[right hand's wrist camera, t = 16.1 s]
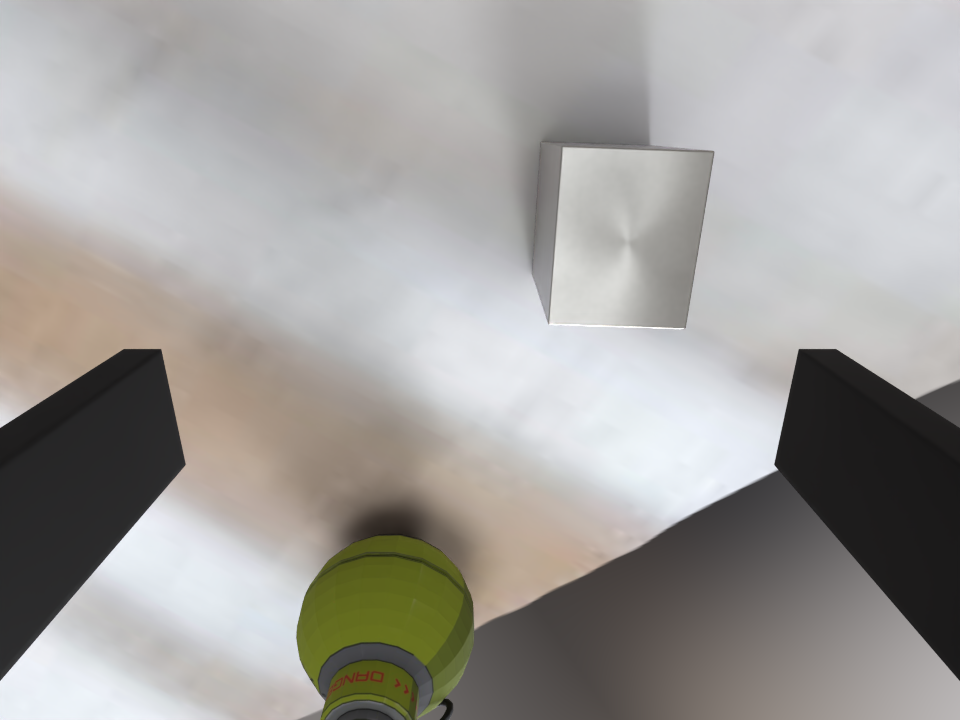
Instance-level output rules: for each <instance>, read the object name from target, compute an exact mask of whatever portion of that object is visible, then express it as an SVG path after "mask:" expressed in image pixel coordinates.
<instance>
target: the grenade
mask: <svg viewBox="0 0 960 720" xmlns="http://www.w3.org/2000/svg"><path fill="white" fill-rule="evenodd" d="M296 638H297V645H298V651H299V657H300V661H301V663H302V665H303V668H304V669H305V671H306V673H307V675H308V676H309V678H310V680H311V681H312V683H313V684H314V686H315V687H316V689H317V691H318V692H319V694H320V695H321V696H322V697H323V698H324V700H325V705H324V708H323V712H322V716H321V719H320V720H417V719H418V718H419V717H421V716H423V715H425V714H426V713H428V712H430V711H431V710H433V709H434V708H436V707H438V706H446V707H447V709H446V712H445V714H444V715H443V717H442V718H441V719H440V720H449V719H450V717H451V715H452V713H453V703H452V702H451V701H450V700H449V699H444V698H445V697H446V696H447V695H448V694H449V693H450V692H451V691H452V690H453V688H454V687H455V686H456V685H457V684H458V682H459V680H460V678H461V677H462V675H463V672H464V670H465V667H466V664H467V662H468V659H469V656H470V654H471V651H472V647H473V643H474V614H473V601H472V598H471V595H470V592H469V590H468V588H467V586H466V583H465V581H464V579H463V577H462V575H461V573H460V571H459V570H458V568H457V567H456V566H455V565H454V564H453V563H452V562H451V561H450V560H449V559H448V558H447V557H446V556H445V554H444V553H443V552H441V551H440V550H439V549H437V548H436V547H434V546H432V545H430V544H428V543H427V542H425V541H423V540H421V539H417V538H413V537H409V536H405V535H401V534H393V535H377V536H373V537H370V538H367V539H363V540H360V541H357V542H354V543H353V544H351V545H350V546H348V547H347V548H345V549H344V550H342V551H341V552H339V553H338V554H336V555H335V556H334V557H332V558H331V559H330V560H329V561H328V562H327V563H326V564H325V566H324V567H323V568H322V569H321V571H320V572H319V574H318V575H317V576H316V578H315V579H314V580H313V582H312V583H311V585H310V586H309V588H308V590H307V592H306V595H305V597H304V601H303V604H302V608H301V612H300V617H299V621H298V625H297V637H296Z"/></svg>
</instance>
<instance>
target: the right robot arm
mask: <svg viewBox="0 0 960 720" xmlns="http://www.w3.org/2000/svg"><path fill="white" fill-rule="evenodd" d="M185 465H186V464H185V459H184V455H183V450H182V445H181V440H180V436H179V431H178V426H177V422H176V417H175V412H174V407H173V403H172V398H171V393H170V389H169V384H168V379H167V374H166V370H165V365H164V360H163V356H162V351H161V349H123V350H122V351H120V352H119V353H117V354H116V355H114V356H112V357H111V358H109V359H108V360H106V361H105V362H103V363H101V364H100V365H98V366H97V367H95V368H94V369H92V370H90V371H89V372H87V373H86V374H84V375H83V376H81V377H80V378H78V379H76V380H75V381H73V382H72V383H70V384H69V385H67V386H65V387H64V388H62V389H61V390H59V391H58V392H56V393H54V394H53V395H51V396H50V397H48V398H47V399H45V400H43V401H42V402H40V403H39V404H37V405H36V406H34V407H32V408H31V409H29V410H28V411H26V412H25V413H23V414H21V415H20V416H18V417H17V418H15V419H14V420H12V421H11V422H9V423H7V424H6V425H4V426H3V427H1V428H0V680H1V679H2V678H3V677H4V676H5V675H6V673H7V672H8V671H9V670H10V669H11V668H12V666H13V665H14V664H15V663H16V662H17V661H18V660H19V658H20V657H21V656H22V655H23V654H24V653H25V651H26V650H27V649H28V648H29V647H30V646H31V644H32V643H33V642H34V641H35V640H36V639H37V637H38V636H39V635H40V634H41V633H42V632H43V630H44V629H45V628H46V627H47V626H48V625H49V623H50V622H51V621H52V620H53V619H54V618H55V616H56V615H57V614H58V613H59V612H60V611H61V609H62V608H63V607H64V606H65V605H66V604H67V602H68V601H69V600H70V599H71V598H72V597H73V595H74V594H75V593H76V592H77V591H78V590H79V588H80V587H81V586H82V585H83V584H84V583H85V581H86V580H87V579H88V578H89V577H90V576H91V575H92V573H93V572H94V571H95V570H96V569H97V568H98V566H99V565H100V564H101V563H102V562H103V561H104V559H105V558H106V557H107V556H108V555H109V554H110V552H111V551H112V550H113V549H114V548H115V547H116V545H117V544H118V543H119V542H120V541H121V540H122V538H123V537H124V536H125V535H126V534H127V533H128V531H129V530H130V529H131V528H132V527H133V526H134V524H135V523H136V522H137V521H138V520H139V519H140V517H141V516H142V515H143V514H144V513H145V512H146V510H147V509H148V508H149V507H150V506H151V505H152V503H153V502H154V501H155V500H156V499H157V498H158V496H159V495H160V494H161V493H162V492H163V491H164V490H165V488H166V487H167V486H168V485H169V484H170V483H171V481H172V480H173V479H174V478H175V477H176V476H177V474H178V473H179V472H180V471H181V470H182V469H183V467H184V466H185ZM774 465H775V466H776V467H777V469H778V470H779V471H780V472H781V473H782V474H783V476H784V477H785V478H786V479H787V480H788V481H789V482H790V484H791V485H792V486H793V487H794V488H795V489H796V491H797V492H798V493H799V494H800V495H801V496H802V498H803V499H804V500H805V501H806V502H807V503H808V505H809V506H810V507H811V508H812V509H813V510H814V512H815V513H816V514H817V515H818V516H819V517H820V519H821V520H822V521H823V522H824V523H825V524H826V526H827V527H828V528H829V529H830V530H831V531H832V533H833V534H834V535H835V536H836V537H837V538H838V540H839V541H840V542H841V543H842V544H843V545H844V547H845V548H846V549H847V550H848V551H849V552H850V554H851V555H852V556H853V557H854V558H855V559H856V561H857V562H858V563H859V564H860V565H861V566H862V568H863V569H864V570H865V571H866V572H867V573H868V575H869V576H870V577H871V578H872V579H873V580H874V581H875V583H876V584H877V585H878V586H879V587H880V588H881V590H882V591H883V592H884V593H885V594H886V595H887V597H888V598H889V599H890V600H891V601H892V602H893V604H894V605H895V606H896V607H897V608H898V609H899V611H900V612H901V613H902V614H903V615H904V616H905V618H906V619H907V620H908V621H909V622H910V623H911V625H912V626H913V627H914V628H915V629H916V630H917V631H918V633H919V634H920V635H921V636H922V637H923V638H924V640H925V641H926V642H927V643H928V644H929V645H930V647H931V648H932V649H933V650H934V651H935V653H936V654H937V655H938V656H939V657H940V658H941V660H942V661H943V662H944V663H945V664H946V665H947V666H948V668H949V669H950V670H951V671H952V672H953V673H954V675H955V676H956V677H957V678H958V679H959V680H960V428H959V427H957V426H956V425H954V424H953V423H951V422H949V421H948V420H946V419H945V418H943V417H942V416H940V415H939V414H937V413H935V412H934V411H932V410H931V409H929V408H927V407H926V406H924V405H923V404H921V403H920V402H918V401H917V400H915V399H913V398H912V397H910V396H909V395H907V394H906V393H904V392H902V391H901V390H899V389H898V388H896V387H895V386H893V385H891V384H890V383H888V382H887V381H885V380H884V379H882V378H880V377H879V376H877V375H876V374H874V373H873V372H871V371H870V370H868V369H866V368H865V367H863V366H862V365H860V364H859V363H857V362H855V361H854V360H852V359H851V358H849V357H848V356H846V355H844V354H843V353H841V352H840V351H838V350H837V349H799V351H798V356H797V360H796V365H795V370H794V374H793V379H792V384H791V389H790V393H789V398H788V403H787V407H786V412H785V417H784V422H783V426H782V431H781V436H780V440H779V445H778V450H777V455H776V459H775V464H774Z"/></svg>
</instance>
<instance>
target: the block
mask: <svg viewBox="0 0 960 720" xmlns="http://www.w3.org/2000/svg"><path fill="white" fill-rule="evenodd" d="M713 158H714V151H708V150H697V149H685V148H673V147H662V146H649V145H620V144H591V143H563V142H541V144H540V159H539V175H538V190H537V206H536V221H535V237H534V252H533V268H532V275H533V279H534V282H535V285H536V288H537V291H538V294H539V297H540V300H541V303H542V306H543V309H544V312H545V316H546V319H547V322H548V324H549V325H578V326H608V327H638V328H667V329H685V328H686V322H687V316H688V310H689V304H690V298H691V292H692V286H693V280H694V274H695V267H696V261H697V255H698V249H699V243H700V237H701V231H702V225H703V219H704V212H705V206H706V200H707V194H708V188H709V182H710V176H711V170H712V164H713Z"/></svg>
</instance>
